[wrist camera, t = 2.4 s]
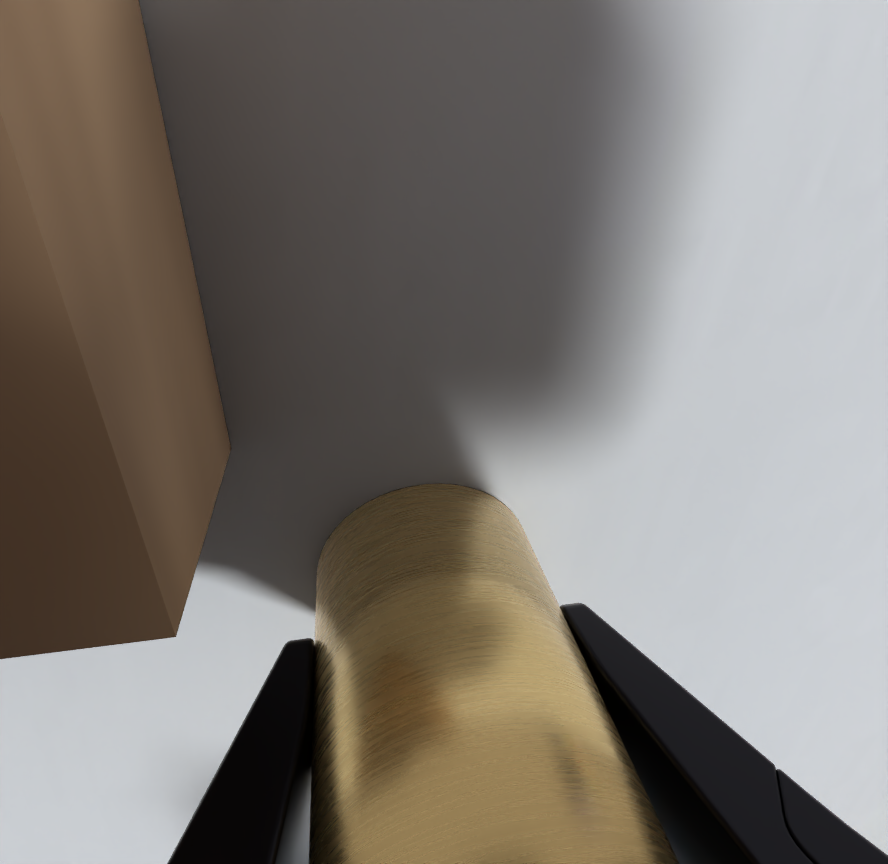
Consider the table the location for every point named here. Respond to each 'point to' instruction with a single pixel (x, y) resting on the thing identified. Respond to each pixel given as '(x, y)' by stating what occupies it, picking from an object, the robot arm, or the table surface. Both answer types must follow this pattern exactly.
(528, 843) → the gold metal cylinder
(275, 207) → the table surface
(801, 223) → the table surface
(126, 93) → the jig
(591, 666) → the robot arm
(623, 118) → the table surface
